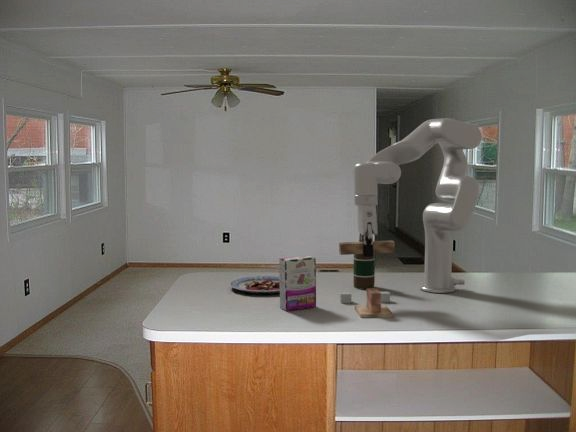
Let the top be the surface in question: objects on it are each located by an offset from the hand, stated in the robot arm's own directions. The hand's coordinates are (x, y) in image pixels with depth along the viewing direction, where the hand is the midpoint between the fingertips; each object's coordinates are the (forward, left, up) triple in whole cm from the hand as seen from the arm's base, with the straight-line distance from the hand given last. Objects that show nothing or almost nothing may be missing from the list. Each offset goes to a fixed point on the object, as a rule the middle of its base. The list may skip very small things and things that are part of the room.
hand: (366, 254), depth 193 cm
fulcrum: (+1, +14, -16) cm, 21 cm away
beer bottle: (-3, -22, -16) cm, 27 cm away
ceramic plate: (+34, -23, -16) cm, 44 cm away
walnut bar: (0, 0, +1) cm, 1 cm away
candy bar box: (+24, +6, -16) cm, 29 cm away
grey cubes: (+1, 0, -16) cm, 16 cm away
